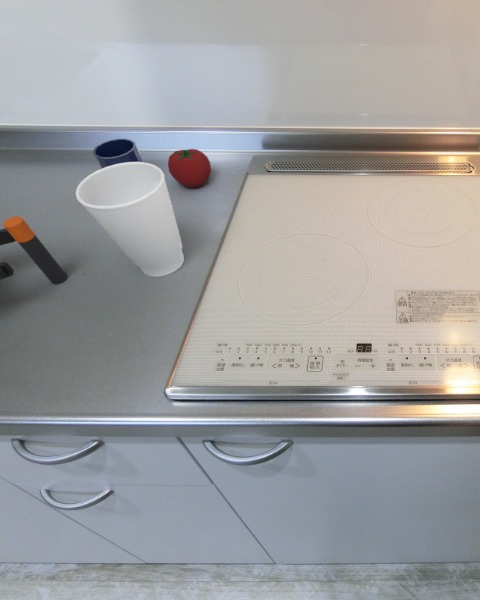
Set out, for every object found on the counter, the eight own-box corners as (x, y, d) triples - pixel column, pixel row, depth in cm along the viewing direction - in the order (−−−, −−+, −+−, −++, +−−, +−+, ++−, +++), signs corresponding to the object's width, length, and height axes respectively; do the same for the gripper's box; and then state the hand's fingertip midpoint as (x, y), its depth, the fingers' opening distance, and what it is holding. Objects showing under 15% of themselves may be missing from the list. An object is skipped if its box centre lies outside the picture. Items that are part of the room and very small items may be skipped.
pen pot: (105, 184, 91) (85, 148, 85) (141, 169, 95) (124, 134, 89) (123, 198, 87) (103, 162, 82) (158, 182, 91) (142, 147, 85)
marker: (48, 279, 72) (0, 221, 63) (64, 271, 74) (18, 214, 65) (54, 286, 71) (6, 229, 62) (70, 278, 72) (25, 221, 64)
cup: (171, 294, 70) (126, 214, 59) (110, 278, 73) (54, 198, 61) (212, 248, 78) (180, 168, 66) (156, 234, 80) (115, 155, 68)
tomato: (216, 170, 95) (206, 139, 89) (211, 191, 89) (199, 160, 84) (178, 172, 94) (165, 141, 89) (170, 194, 89) (156, 162, 83)
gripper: (-165, 302, 54) (-9, 260, 59) (-137, 236, 62) (-3, 204, 67) (-112, 339, 59) (26, 297, 65) (-93, 273, 67) (28, 241, 73)
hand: (11, 250), depth 66 cm, fingers open, 8 cm apart
